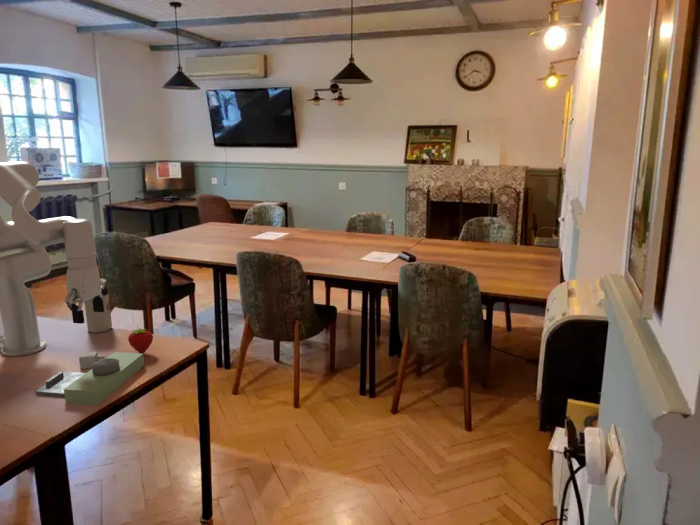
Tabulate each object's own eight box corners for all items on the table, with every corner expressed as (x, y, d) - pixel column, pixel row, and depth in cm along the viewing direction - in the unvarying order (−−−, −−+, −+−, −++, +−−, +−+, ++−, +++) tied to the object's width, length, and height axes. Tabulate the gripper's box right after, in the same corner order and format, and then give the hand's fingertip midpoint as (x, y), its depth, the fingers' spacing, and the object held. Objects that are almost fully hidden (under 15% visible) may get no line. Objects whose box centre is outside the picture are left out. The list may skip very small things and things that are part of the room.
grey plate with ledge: (35, 394, 141) (34, 386, 140) (64, 374, 153) (63, 366, 152) (71, 397, 140) (70, 388, 139) (97, 377, 151) (96, 369, 151)
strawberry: (152, 357, 165) (149, 327, 162) (127, 358, 164) (124, 328, 161) (156, 349, 170) (153, 321, 168) (132, 350, 169) (129, 321, 167)
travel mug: (83, 332, 184) (77, 284, 179) (94, 324, 192) (89, 278, 187) (105, 333, 184) (99, 284, 179) (116, 325, 191) (110, 278, 187)
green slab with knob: (64, 402, 137) (61, 382, 135) (115, 363, 160) (113, 345, 158) (97, 405, 136) (94, 384, 134) (144, 365, 159) (142, 347, 157)
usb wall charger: (83, 364, 160) (81, 352, 159) (107, 361, 161) (106, 349, 160) (80, 369, 156) (78, 357, 155) (105, 367, 158) (104, 355, 157)
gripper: (88, 254, 159) (95, 307, 164) (49, 268, 143) (58, 327, 147) (111, 255, 158) (117, 308, 163) (74, 269, 142) (82, 328, 146)
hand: (89, 317), depth 155 cm, fingers open, 9 cm apart
